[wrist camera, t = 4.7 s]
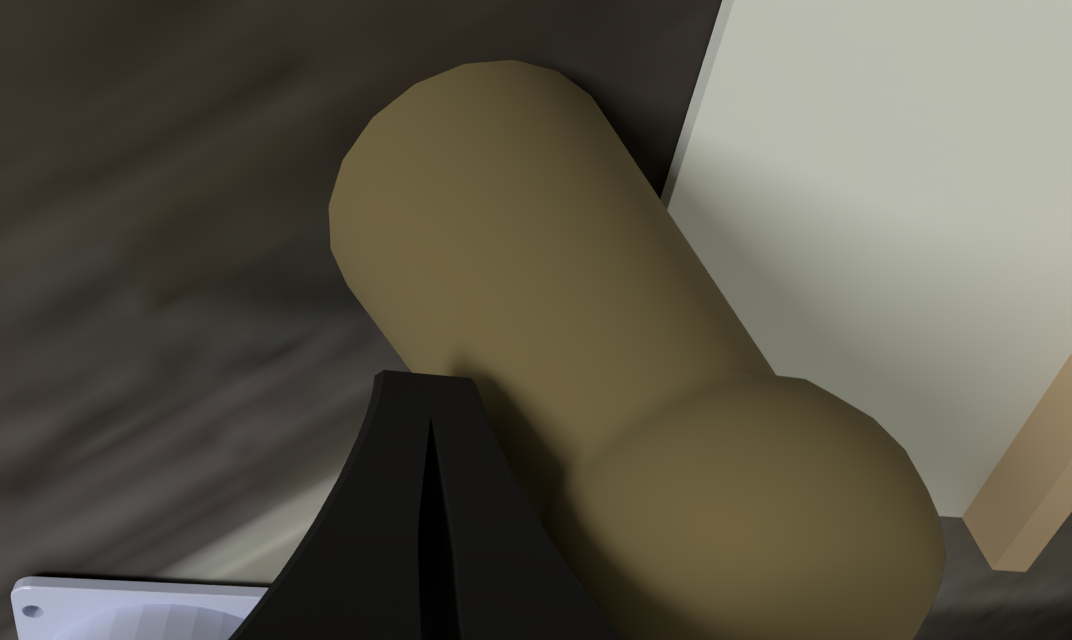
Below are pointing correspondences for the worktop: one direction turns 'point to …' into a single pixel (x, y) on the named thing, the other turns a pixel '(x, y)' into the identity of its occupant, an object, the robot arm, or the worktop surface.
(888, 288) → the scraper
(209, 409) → the worktop surface
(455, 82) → the cork
